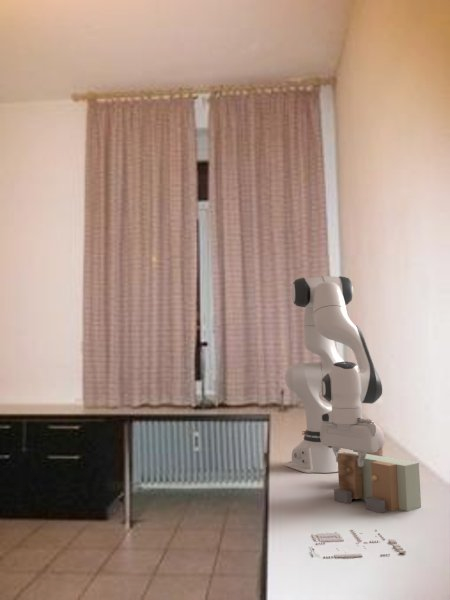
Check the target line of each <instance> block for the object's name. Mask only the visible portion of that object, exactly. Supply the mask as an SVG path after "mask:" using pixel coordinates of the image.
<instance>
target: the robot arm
mask: <svg viewBox="0 0 450 600" xmlns="http://www.w3.org/2000/svg"><path fill="white" fill-rule="evenodd" d="M353 295H354V287H353V282H352V281H351V279H350V278H349V277H346V276H340V275H338V276H333V275H332V276H331V275H329V276H328V275H324V276H323V275H322V276H314V277H313V276H311V277H307V278H305V277H301V278H297V279H295V280H294V281H293V282H292V285H291V289H290V296H291V299H292V301H293V304H294V305H295V306H296V307H301V308H304V312H303V346H305V348H306V350H307V351H309V352H310V353H313V354H315V355H318V356H319V358H320V361H318V362H299V363H296V364H291V365H290V366H289V367H287V369H286V371H285V375H284V381H285V384H286V387H287V388H288V390H290V391H291V392H292V393H294V394H295V395H296V396H297V397H298V398H299V400H300V401H301V403H302V405H303V408H304V411H305V421H306V430H305V431H303V430H302V433H301V435H302V436H303V435H304V436H303V440H302V441H301V442H300V443H299V444H298V445H296V446H295V447H294V448H293V449H292V451H291V460H290V461H287V462H286V463H285V467H287V468H291V469H292V470H293V469H294V470H295V471H296V470H297V471H298V472H299V471H300V472H302V473H305V474H307V473H309V474H310V473H315V474H316V473H319V474H320V473H322V474H323V473H326V474H329V473H337V472H338V453H341V450H342V449H344V450H350V451H353V450H355V451H358V455H359V458H358V460H356V466H358V467H363V466H364V461H363V460H364V459H365V457H366V453H374V452H377V451H378V449H379V444H378V437H377V432H376V425H377V424H376V423H375V422H374V421H372V420H371V419H369V418H367V419H366V418H364V417H363V404H370V405H371V404H374V403H376V402H377V401H379V398H381V396H382V394H383V384H382V381H381V378H380V376H379V373H378V372H377V370H376V367H375V365H374V362H373V359H372V356H371V353H370V351H369V348H368V345H367V342H366V340H365V337H364V335H363V332H362V330H361V328H360V327H359V326H358V325H356V324H354V323H353V321H352V320H351V318H350V316H349V315H348V310H347V305H348V304H350V302H351V301H352V299H353ZM335 342H337V343H341V344H343V345H345V346H346V347H348V348H349V349H350V350H352V353H353V354H354V357H355V360H356V362H357V363H355V362H353V361H352V362H351V361H345V360H344V359H343V357H341V355H340V354H339V352H338V349H337V347H336V343H335ZM320 393H321V396H322V397H323V398H324V399H325V400H324V399H321V398H320ZM331 403H332V404H331ZM371 423H372V424H371ZM375 424H376V425H375Z"/></svg>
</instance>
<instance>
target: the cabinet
mask: <svg viewBox="0 0 450 600" xmlns="http://www.w3.org/2000/svg"><path fill="white" fill-rule="evenodd" d="M347 453H351V454H356V455H358V452H353V451H349V452H347ZM363 461H364V466H363V467H362V487H363V498H359V499H358V500H363V501H365V509H366V510H369V511H371V512H376V513H380V514H383V513H385V512H386V510H388V511H390V512H393V511H397V510H401V511H406V512H410V511H412V510H416V509H420V508H422V499H421V498H422V497H421V496H422V495H421V483H420V482H421V477H420V463H419V462H417V461H415V462H414V461H412V460H411V461H410V460H406V459H405V460H404V459H399V458H392V457H387V456H383V457H382V456H376V455H371V454H366V457H365V459H364V460H363ZM333 496H334V501H336V502H340V503H344V504H351V503H353V498H352V492H350V491H346V490H342V489H339V488H336V489H334V490H333Z"/></svg>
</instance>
